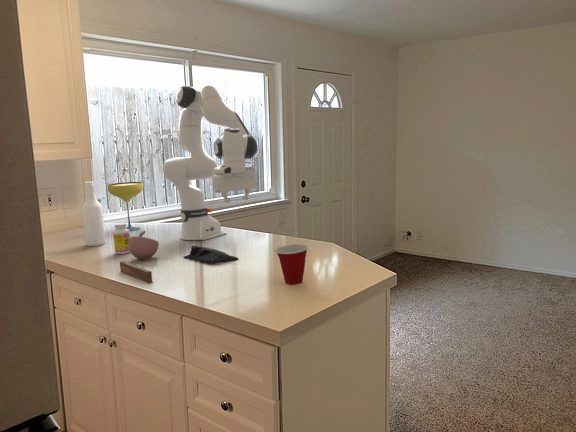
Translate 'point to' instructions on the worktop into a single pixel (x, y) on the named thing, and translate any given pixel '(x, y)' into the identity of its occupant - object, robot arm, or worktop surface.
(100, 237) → the alcohol
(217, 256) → the dark slate chunk
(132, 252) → the mortar and pestle
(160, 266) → the worktop surface
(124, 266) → the brown wooden bar
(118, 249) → the supplement bottle
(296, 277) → the plastic cup
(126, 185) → the cocktail glass
